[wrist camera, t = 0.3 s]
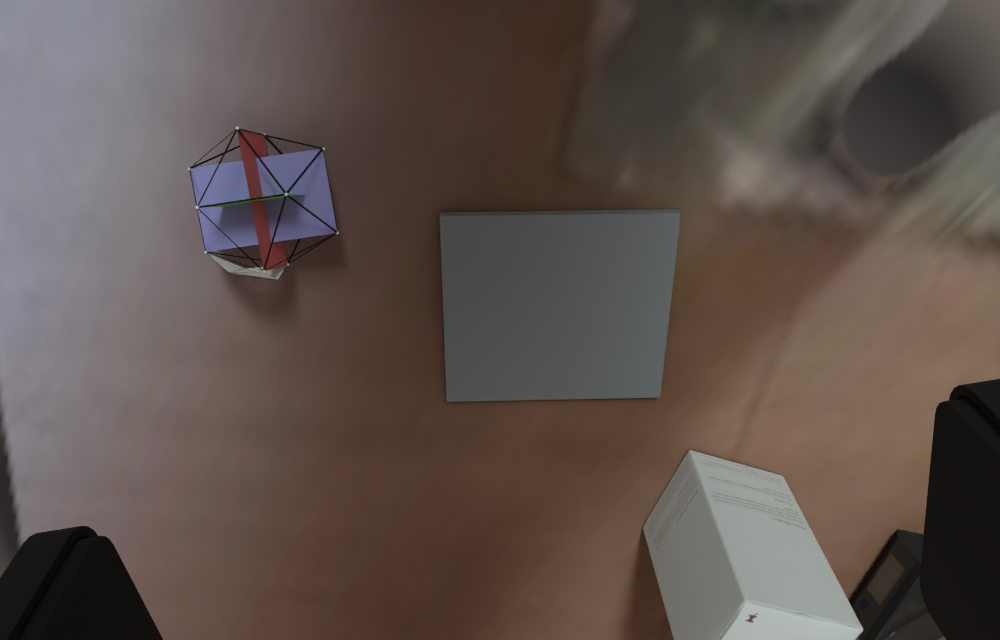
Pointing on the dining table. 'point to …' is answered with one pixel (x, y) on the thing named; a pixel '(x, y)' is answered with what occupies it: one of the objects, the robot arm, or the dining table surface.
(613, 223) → the mat
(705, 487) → the supplement box
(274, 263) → the geometric puzzle
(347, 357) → the dining table surface
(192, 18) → the dining table surface
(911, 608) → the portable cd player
